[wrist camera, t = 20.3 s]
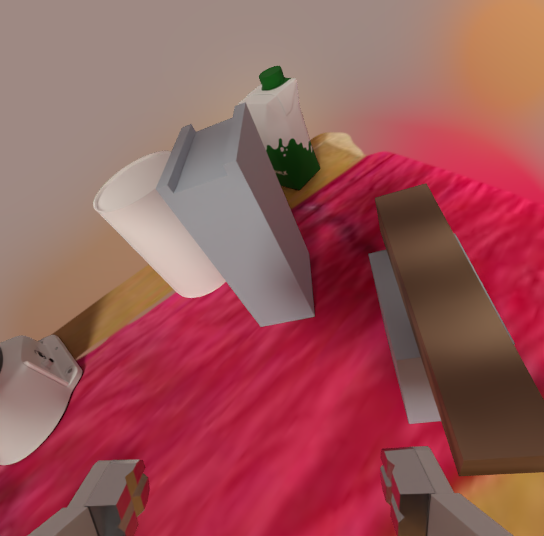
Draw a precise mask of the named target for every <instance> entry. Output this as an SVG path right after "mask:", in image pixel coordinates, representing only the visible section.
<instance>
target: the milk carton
mask: <svg viewBox="0 0 544 536" xmlns="http://www.w3.org/2000/svg"><path fill="white" fill-rule="evenodd" d="M259 79H260V81H261V85H259V86H258V87H257V88H256V89H254V90H253V91H252V92H250V93H249V94H248V95H247V97H246V98H245V99H243V100H242V101H241V102H240V103H239V104H242V103H244V102H246V104H247V107H248V109H249V112H250V114H251V116H252V119H253V121H254V124H255V126H256V128H257V131H258V133H259V135H260V138H261V140H262V143H263V145H264V147H265V150H266V152H267V155H268V157H269V159H270V162H271V164H272V166H273V169H274V171H275V174H276V176H277V178H278V181H279V183H280V185H281V186H285V187H289V188H293V189H297V190H300V189H301V188H302V187H303V186H304V185H305V184H306V183H307V182H308V181H309V180H310V179H311V178H312V177H313V176H314V175H315V174H316V173H317V172H318V170H319V169H320V166H319V164H318V161H317V158H316V156H315V153H314V151H313V148H312V145H311V142H310V139H309V135H308V132H307V128H306V125H305V122H304V118H303V115H302V112H301V108H300V105H299V97H298V87H297V79H296V78H292V79H291V78H285V77H284V75H283V72H282V69H281V67H280V66H274V67H271V68H269V69H267V70H265V71H263V72H262V73H261V74H260V75H259Z"/></svg>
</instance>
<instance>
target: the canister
mask: <svg viewBox="0 0 544 536" xmlns="http://www.w3.org/2000/svg"><path fill="white" fill-rule="evenodd" d="M170 154H171V151H159V152H154V153H151V154H149V155H146V156H144V157H141V158H139V159H137V160H135V161H134V162H132V163H130V164H129V165H127V166H126V167H124V168H123V169H121V170H120V171H119V172H117V173H116V174H115V175H113V176H112V177H111V178H110V179H109V180H108V181H107V182H106V183H105V184H104V185H103V186H102V187H101V189H100V190H99V191H98V193H97V195H96V196H95V199H94V202H93V206H94V209H95V210H96V211H97V212H98V213H99V214H100V215H101V216H102V217H103V218H104V219H105V220H106V221H107V222H108V223H109V224H110V225H111V226H112V227H113V228H114V229H115V230H116V231H117V232H118V233H119V234H120V235H121V236H122V237H123V238H124V239H125V240H126V241H127V242H128V243H129V244H130V245H131V246H132V247H133V248H134V249H135V250H136V251H137V252H138V253H139V254H140V255H141V256H142V257H143V258H144V259H145V260H146V262H147V263H148V264H149V265H150V266H151V267H152V268H153V269H154V270H155V271H156V272H157V273H158V274H159V275H160V276H161V277H162V278H163V279H164V280H165V281H166V282H167V283H168V284H169V285H170V286H171V287H172V288H173V289H174V290H175V291H176V292H177V293H178V294H179V295H181V296H183V297H187V298H195V297H201V296H204V295H206V294H209V293H211V292H213V291H214V290H216V289H217V288H219V287H220V286H221V285H223V284H224V283H225V282H226V281H225V279H224V278H223V277H222V275H221V274H220V273H219V271H218V270H217V269H216V268H215V266H214V265H213V264H212V262H211V261H210V260H209V258H208V257H207V256H206V254H205V253H204V252H203V251H202V249H201V248H200V247H199V245H198V244H197V243H196V241H195V240H194V239H193V237H192V236H191V235H190V234H189V232H188V231H187V230H186V228H185V227H184V226H183V224H182V223H181V222H180V220H179V219H178V218H177V217H176V215H175V214H174V213H173V211H172V210H171V209H170V207H169V206H168V205H167V203H166V202H165V201H164V200H163V198H162V197H161V196H160V194H159V193H158V192H157V190H156V187H157V184H158V182H159V180H160V177H161V175H162V173H163V170H164V168H165V166H166V163H167V161H168V159H169V156H170Z"/></svg>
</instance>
